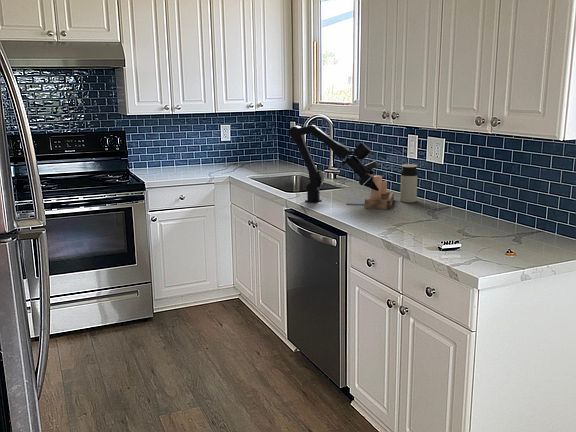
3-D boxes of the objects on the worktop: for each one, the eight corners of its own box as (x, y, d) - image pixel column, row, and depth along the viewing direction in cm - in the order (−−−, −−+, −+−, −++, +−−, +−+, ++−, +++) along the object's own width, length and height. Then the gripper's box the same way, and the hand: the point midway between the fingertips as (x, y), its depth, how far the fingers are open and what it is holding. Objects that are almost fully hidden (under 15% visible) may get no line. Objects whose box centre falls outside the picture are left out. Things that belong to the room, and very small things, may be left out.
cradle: (364, 208, 268) (364, 199, 267) (370, 198, 290) (370, 191, 289) (389, 209, 265) (390, 200, 265) (393, 199, 287) (393, 191, 286)
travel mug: (419, 202, 280) (420, 165, 276) (405, 203, 278) (406, 166, 274) (411, 199, 287) (412, 163, 283) (397, 200, 285) (398, 164, 281)
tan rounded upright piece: (369, 204, 276) (370, 176, 273) (370, 202, 281) (371, 175, 278) (385, 205, 274) (386, 177, 271) (386, 202, 280) (387, 175, 276)
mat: (346, 204, 277) (346, 203, 277) (349, 200, 286) (349, 199, 286) (367, 205, 274) (367, 204, 274) (369, 201, 284) (369, 200, 284)
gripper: (366, 157, 265) (389, 181, 265) (370, 152, 283) (392, 175, 282) (349, 173, 269) (372, 197, 268) (354, 167, 286) (376, 190, 286)
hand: (378, 189), depth 276 cm, fingers closed on tan rounded upright piece, 5 cm apart
